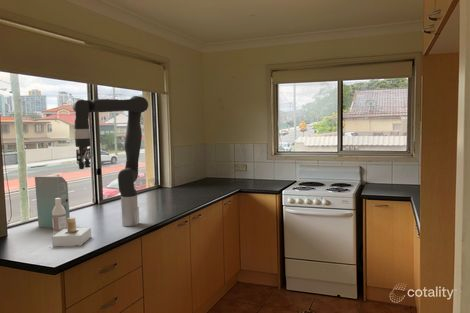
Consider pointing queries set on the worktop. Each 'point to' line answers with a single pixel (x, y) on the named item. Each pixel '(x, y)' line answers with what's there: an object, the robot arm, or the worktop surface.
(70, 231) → the peg
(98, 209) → the worktop surface
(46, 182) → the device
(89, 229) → the socket block
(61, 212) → the bath foam
